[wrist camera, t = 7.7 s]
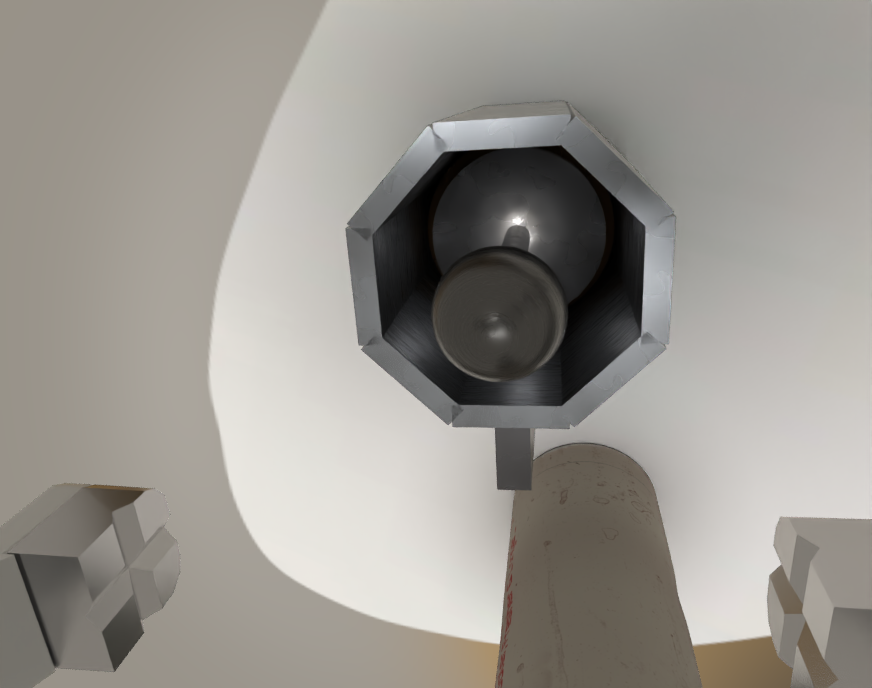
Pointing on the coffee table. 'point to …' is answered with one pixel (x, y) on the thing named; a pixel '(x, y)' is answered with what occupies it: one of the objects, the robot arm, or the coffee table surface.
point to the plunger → (512, 260)
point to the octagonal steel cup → (587, 314)
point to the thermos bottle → (591, 580)
